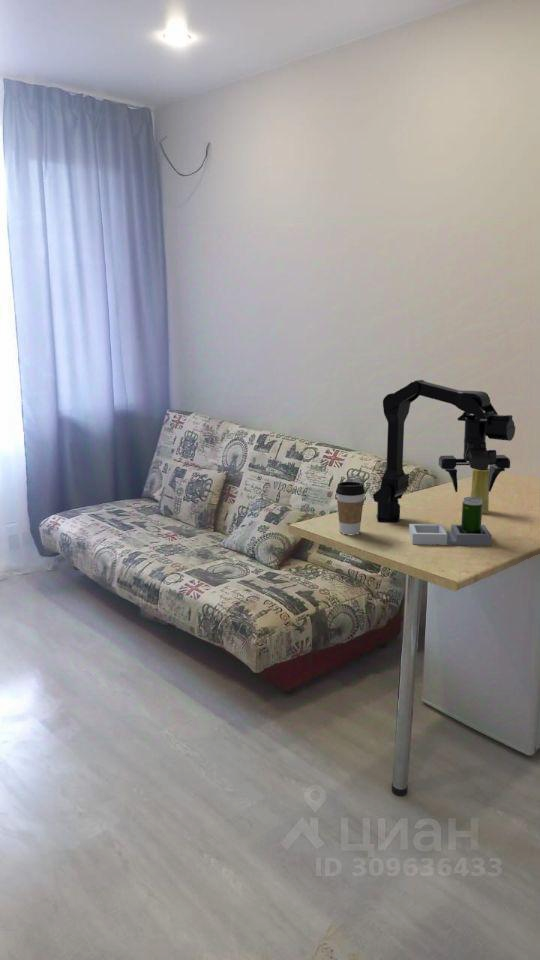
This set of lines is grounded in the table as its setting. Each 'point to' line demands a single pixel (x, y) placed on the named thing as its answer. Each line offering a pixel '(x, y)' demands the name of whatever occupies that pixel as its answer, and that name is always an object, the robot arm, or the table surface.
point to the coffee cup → (350, 506)
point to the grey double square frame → (447, 535)
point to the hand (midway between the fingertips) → (472, 491)
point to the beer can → (471, 515)
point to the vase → (481, 487)
